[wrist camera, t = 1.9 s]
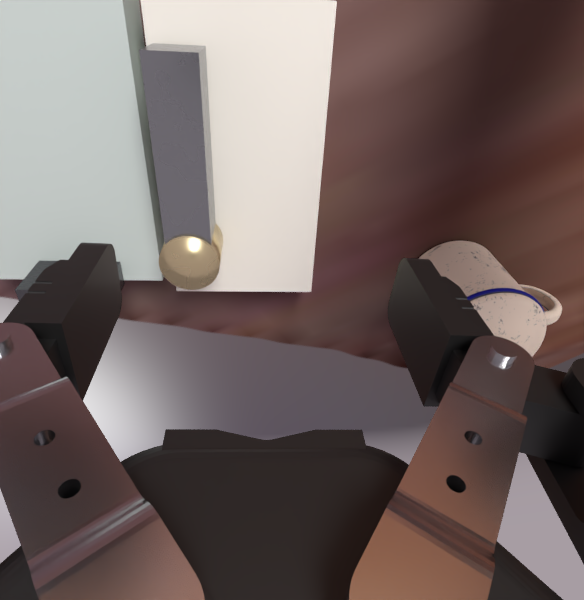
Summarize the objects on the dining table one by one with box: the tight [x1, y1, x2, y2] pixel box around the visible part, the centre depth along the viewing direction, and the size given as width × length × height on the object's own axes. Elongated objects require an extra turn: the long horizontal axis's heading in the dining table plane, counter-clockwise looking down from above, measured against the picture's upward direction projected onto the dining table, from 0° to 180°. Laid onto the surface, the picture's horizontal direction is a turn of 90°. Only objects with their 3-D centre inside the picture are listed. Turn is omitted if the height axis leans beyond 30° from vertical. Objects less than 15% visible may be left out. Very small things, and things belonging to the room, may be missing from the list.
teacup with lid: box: [418, 241, 562, 357], centre depth 37 cm, size 12×9×12 cm
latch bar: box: [139, 43, 223, 290], centre depth 28 cm, size 14×4×4 cm, turn 177°
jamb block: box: [141, 0, 337, 292], centre depth 32 cm, size 20×11×4 cm, turn 177°
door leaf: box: [0, 0, 164, 281], centre depth 31 cm, size 19×13×4 cm
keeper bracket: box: [15, 261, 125, 301], centre depth 32 cm, size 2×6×4 cm, turn 87°
